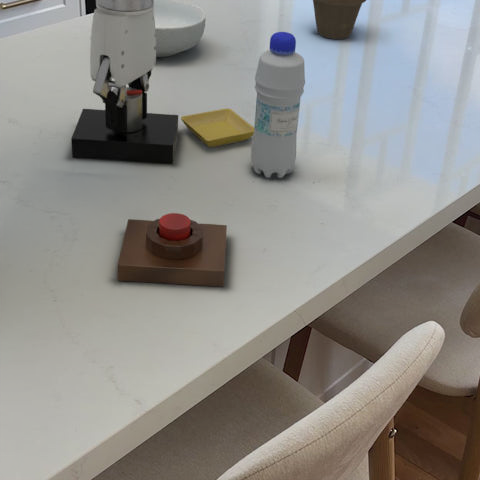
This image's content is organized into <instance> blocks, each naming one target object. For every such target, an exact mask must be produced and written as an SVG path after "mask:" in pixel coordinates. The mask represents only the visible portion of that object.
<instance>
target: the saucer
mask: <svg viewBox="0 0 480 480" xmlns="http://www.w3.org/2000/svg"><path fill="white" fill-rule="evenodd" d="M180 119H181V122H182V123H183V124H184V126H185V127H186V128H187V129H188V130H189V131H190V132H192V133H193V134H194V135H195V137H197V138H198V139H199V140H201V142H203V143H204V144H205V145H206V146H207V147H209V148H215V147H222V146H226V145H230V144H236V143H241V142H245V141H247V140H248V139H250V138H251V137H253V135H254V127H255V126H253V125H251V124H250V123H249V122H248V121H247V120H245V119H244V118H243V117H241V116H240V115H239V114H237V112H235V111H234V110H232V109H231V108H222V109H221V108H220V109H215V110H209V111H204V112H199V113H198V112H197V113H193V114H187V115H182V116H181V117H180Z"/></svg>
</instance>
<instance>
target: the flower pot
mask: <svg viewBox="0 0 480 480" xmlns="http://www.w3.org/2000/svg"><path fill="white" fill-rule="evenodd" d="M366 1H367V0H312V3H313V11H314V18H315V19H314V20H315V25H316V31H317V34H318V35H320V36H321V37H323V38H326V39H331V40H345V39H348V38H349V37H350V36H351V34H352V32H353V30H354V26H355V24H356V22H357V18H358V16H359V12H360V10H361V8H362V5H363V4H364V3H365V2H366Z"/></svg>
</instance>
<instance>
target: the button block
mask: <svg viewBox="0 0 480 480" xmlns="http://www.w3.org/2000/svg"><path fill="white" fill-rule="evenodd" d="M159 220H160V218H156V219H154V220H149V219H133V218H131V219H130V218H128V219H127V223H126V226H125V232H124V235H123V239H122V245H121V248H120V253H119V257H118V262H117V281H118V282H119V281H120V282H134V283H153V284H155V283H156V284H169V285H170V284H171V285H189V286H206V287H225V285H224V284H225V269H226V252H227V251H226V249H227V248H226V247H227V232H228V225H227V224H213V223H199V222H197V221H195V220H192V219H190V221H191V227H190V236H189V238H188V239H185V240H180V241H170V240H166V239H164V238H161V237H160V235H159Z"/></svg>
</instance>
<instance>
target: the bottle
mask: <svg viewBox="0 0 480 480" xmlns="http://www.w3.org/2000/svg"><path fill="white" fill-rule="evenodd" d="M296 45H297V40H296V37H295V35H293V33H290V32H288V31H287V32H286V31H277V32H274V33H273V34H272V35H271V36H270V40H269V50H266V51H263V52H262V53H260V55H259V59H258V63H257V68H256V72H255V76H254V81H255V84H254V89H255V92H256V99H255V112H254V113H255V115H254V126H253V127H254V135H253V136H252V142H251V147H250V148H251V149H250V158H251V164H252V168H253V171H254V172H255V173H256V174H257V175H261V174H262V173H263V175H264V177H265V178H267V179H270V178H271V177H272V174H274V173H276V177H277V179H282V178H284V177H285V175H289V174H290V173H292V172H293V170H294V167H295V164H296V160H297V159H296V158H297V137H298V136H297V134H298V126H299V117H300V116H299V115H300V108H301V97H302V95H303V94H304V92H305V90H304V87H305V85H306V75H305V74H306V73H305V72H306V71H305V59H304V57H303V55H301V54H299V53H298V52H296V47H297V46H296Z"/></svg>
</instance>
